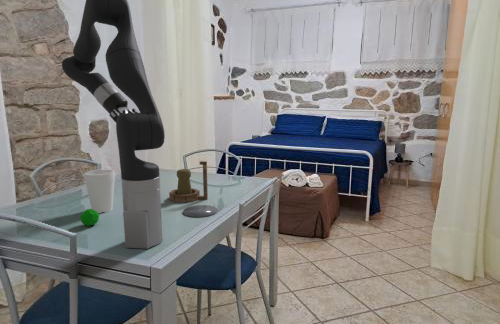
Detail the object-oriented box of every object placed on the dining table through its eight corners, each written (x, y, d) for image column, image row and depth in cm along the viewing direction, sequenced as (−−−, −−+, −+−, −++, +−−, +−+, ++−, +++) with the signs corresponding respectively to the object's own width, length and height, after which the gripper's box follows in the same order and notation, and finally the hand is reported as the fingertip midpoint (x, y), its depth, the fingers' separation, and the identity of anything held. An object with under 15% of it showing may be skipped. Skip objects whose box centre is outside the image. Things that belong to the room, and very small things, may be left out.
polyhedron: (78, 225, 107) (77, 209, 106) (95, 221, 110) (94, 206, 109) (85, 229, 103) (83, 213, 102) (102, 225, 106) (101, 209, 106)
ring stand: (203, 203, 128) (202, 164, 126) (166, 201, 130) (164, 163, 127) (210, 195, 138) (209, 159, 136) (175, 194, 140) (174, 158, 138)
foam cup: (88, 207, 123) (85, 170, 121) (117, 204, 127) (114, 168, 124) (86, 216, 115) (83, 176, 112) (117, 212, 118) (114, 173, 116)
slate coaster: (213, 217, 112) (213, 216, 112) (178, 216, 114) (178, 214, 114) (220, 207, 123) (220, 205, 123) (189, 206, 125) (188, 204, 124)
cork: (189, 201, 131) (188, 171, 129) (173, 200, 132) (172, 170, 130) (195, 196, 137) (194, 168, 135) (180, 195, 138) (179, 167, 136)
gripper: (104, 91, 119) (138, 127, 118) (128, 91, 132) (158, 123, 132) (91, 107, 121) (125, 142, 120) (115, 106, 134) (145, 137, 134)
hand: (142, 132), depth 126 cm, fingers open, 8 cm apart
